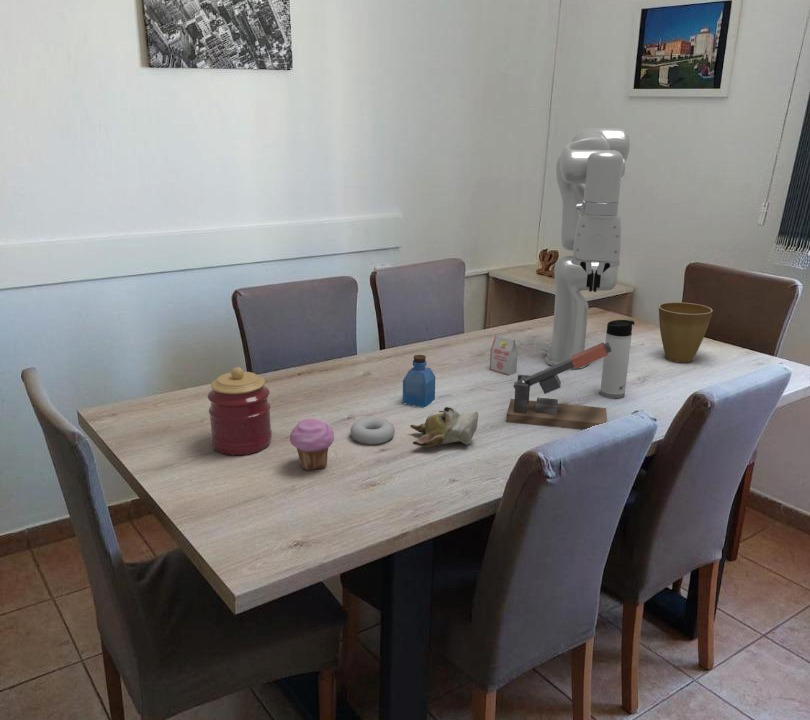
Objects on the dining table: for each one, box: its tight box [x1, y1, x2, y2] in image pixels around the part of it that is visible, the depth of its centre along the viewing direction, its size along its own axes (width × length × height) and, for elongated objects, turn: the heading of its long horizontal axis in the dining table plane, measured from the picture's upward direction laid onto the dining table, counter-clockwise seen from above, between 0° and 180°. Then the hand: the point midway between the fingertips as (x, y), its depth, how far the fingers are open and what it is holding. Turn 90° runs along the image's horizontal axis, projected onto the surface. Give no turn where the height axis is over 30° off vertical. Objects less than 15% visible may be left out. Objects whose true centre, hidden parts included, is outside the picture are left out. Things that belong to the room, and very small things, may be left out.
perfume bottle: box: [402, 354, 436, 408], centre depth 179 cm, size 6×6×12 cm
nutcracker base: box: [505, 374, 608, 430], centre depth 170 cm, size 23×10×9 cm, turn 76°
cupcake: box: [289, 418, 335, 471], centre depth 146 cm, size 9×9×10 cm
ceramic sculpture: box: [409, 406, 479, 448], centre depth 157 cm, size 11×9×15 cm
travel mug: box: [599, 319, 635, 399], centre depth 184 cm, size 6×7×20 cm
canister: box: [207, 366, 273, 456], centre depth 154 cm, size 13×13×18 cm
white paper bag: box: [489, 334, 519, 376], centre depth 202 cm, size 4×7×10 cm, turn 45°
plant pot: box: [658, 301, 713, 364], centre depth 213 cm, size 15×15×16 cm
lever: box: [513, 341, 611, 395], centre depth 167 cm, size 24×4×5 cm
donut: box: [350, 416, 396, 445], centre depth 160 cm, size 10×3×10 cm
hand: (592, 290), depth 164 cm, fingers closed
